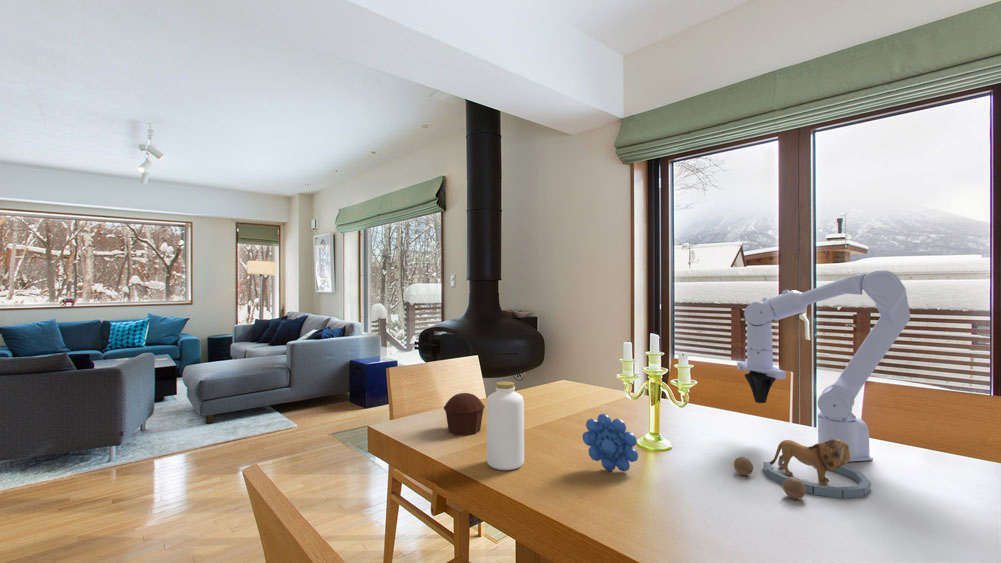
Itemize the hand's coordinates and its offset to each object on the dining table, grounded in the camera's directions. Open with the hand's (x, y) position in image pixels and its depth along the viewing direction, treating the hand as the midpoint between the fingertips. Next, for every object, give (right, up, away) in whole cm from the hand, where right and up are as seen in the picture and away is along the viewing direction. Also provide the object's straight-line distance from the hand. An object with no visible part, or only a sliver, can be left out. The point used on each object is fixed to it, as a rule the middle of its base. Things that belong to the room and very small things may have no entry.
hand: (760, 402), depth 115 cm
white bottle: (-65, -10, -15) cm, 68 cm away
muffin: (-77, -11, +9) cm, 78 cm away
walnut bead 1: (-16, -10, -21) cm, 28 cm away
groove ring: (-2, -9, -24) cm, 26 cm away
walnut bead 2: (-12, -9, -32) cm, 35 cm away
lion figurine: (-3, -10, -22) cm, 24 cm away
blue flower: (-43, -10, -20) cm, 49 cm away
